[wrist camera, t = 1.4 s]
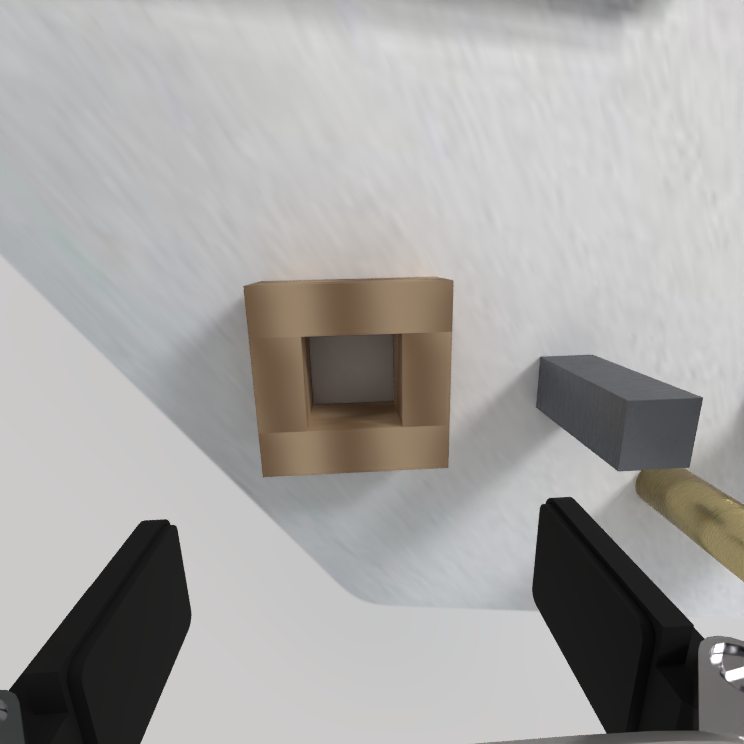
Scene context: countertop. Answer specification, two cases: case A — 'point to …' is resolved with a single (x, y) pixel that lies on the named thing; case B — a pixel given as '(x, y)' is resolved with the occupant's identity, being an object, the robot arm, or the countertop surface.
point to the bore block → (351, 420)
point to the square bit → (619, 412)
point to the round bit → (698, 512)
